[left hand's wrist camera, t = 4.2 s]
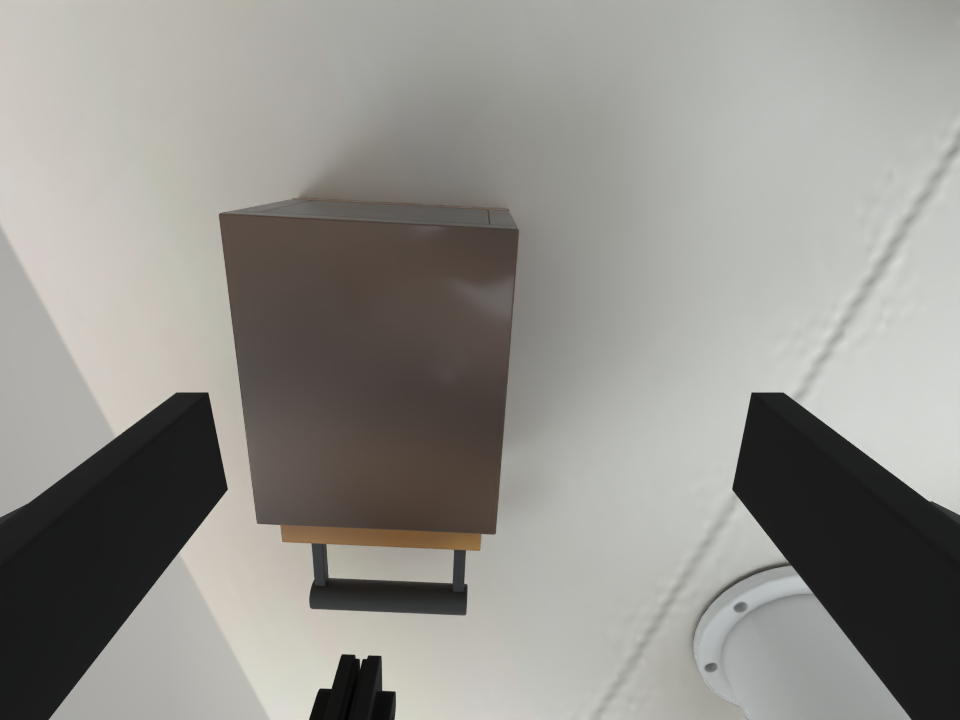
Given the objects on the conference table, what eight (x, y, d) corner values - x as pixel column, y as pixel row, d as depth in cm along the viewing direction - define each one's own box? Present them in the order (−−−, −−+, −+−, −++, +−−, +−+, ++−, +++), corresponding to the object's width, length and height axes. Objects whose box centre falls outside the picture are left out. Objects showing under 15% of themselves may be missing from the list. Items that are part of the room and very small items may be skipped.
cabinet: (492, 440, 31) (495, 535, 23) (313, 432, 31) (256, 524, 23) (508, 209, 26) (519, 228, 18) (297, 197, 26) (217, 212, 18)
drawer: (475, 558, 33) (474, 645, 27) (326, 551, 32) (291, 638, 27) (492, 274, 26) (495, 306, 20) (307, 264, 26) (256, 294, 20)
